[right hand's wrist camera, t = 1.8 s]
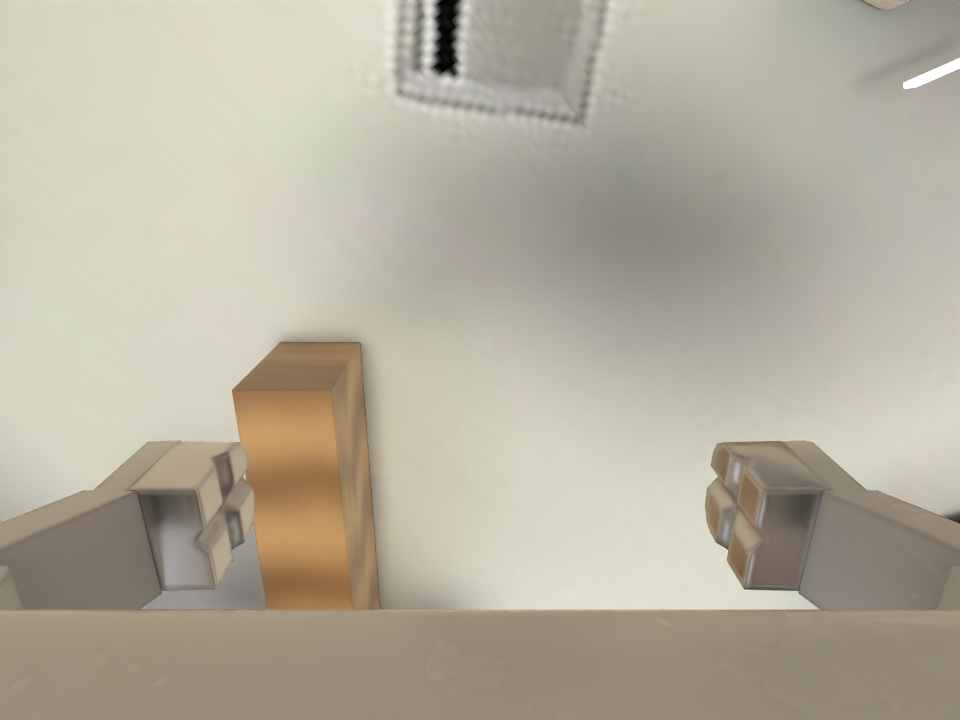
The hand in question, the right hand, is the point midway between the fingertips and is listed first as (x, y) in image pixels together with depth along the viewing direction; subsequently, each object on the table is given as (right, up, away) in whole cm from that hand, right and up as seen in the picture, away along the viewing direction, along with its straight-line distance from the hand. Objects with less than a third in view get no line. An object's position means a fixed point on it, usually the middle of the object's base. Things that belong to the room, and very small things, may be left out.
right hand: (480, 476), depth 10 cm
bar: (-11, -10, +36) cm, 39 cm away
